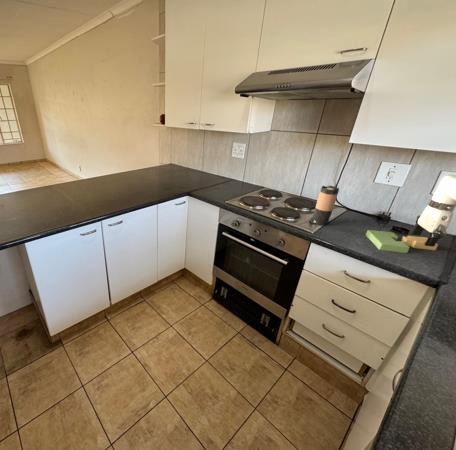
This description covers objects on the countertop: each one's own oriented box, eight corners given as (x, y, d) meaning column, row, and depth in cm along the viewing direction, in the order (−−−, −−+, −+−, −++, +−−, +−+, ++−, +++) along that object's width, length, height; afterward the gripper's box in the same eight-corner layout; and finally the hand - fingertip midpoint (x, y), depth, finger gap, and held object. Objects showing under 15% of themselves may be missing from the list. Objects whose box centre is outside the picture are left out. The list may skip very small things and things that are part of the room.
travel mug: (324, 227, 129) (336, 191, 120) (308, 222, 134) (319, 187, 125) (329, 223, 133) (341, 187, 124) (314, 218, 138) (324, 184, 129)
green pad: (390, 237, 118) (392, 232, 117) (407, 253, 106) (410, 247, 105) (365, 235, 121) (367, 229, 120) (379, 249, 109) (382, 244, 108)
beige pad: (426, 243, 113) (429, 237, 112) (435, 250, 108) (438, 244, 107) (398, 240, 116) (401, 234, 115) (405, 246, 111) (408, 241, 110)
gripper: (469, 214, 95) (446, 251, 103) (438, 198, 109) (420, 232, 117) (444, 212, 97) (423, 249, 105) (418, 197, 111) (401, 230, 119)
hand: (421, 240), depth 111 cm, fingers open, 9 cm apart
